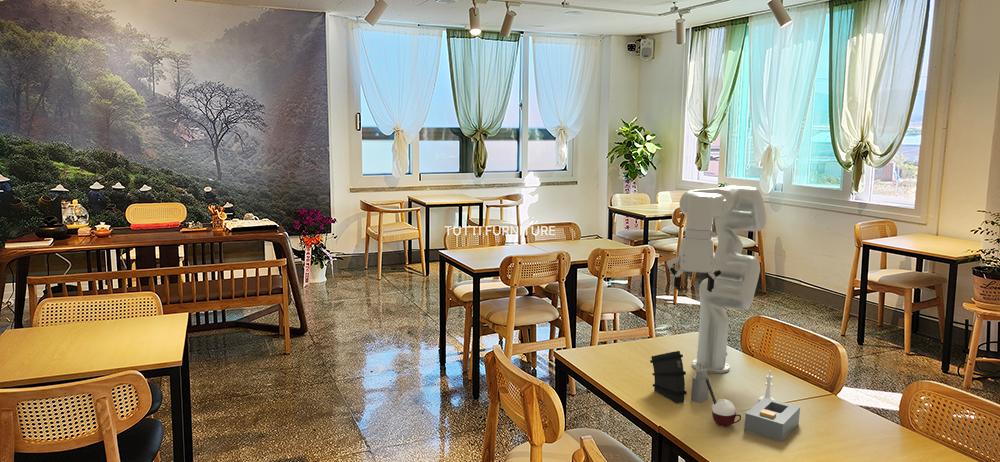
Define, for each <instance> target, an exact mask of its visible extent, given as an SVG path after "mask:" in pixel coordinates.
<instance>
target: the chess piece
mask: <svg viewBox="0 0 1000 462" xmlns="http://www.w3.org/2000/svg"><path fill="white" fill-rule="evenodd" d="M765 378H766V382H765V383H764V385H765V386H766V389H765V393H764V395H762V396H760V397H758V402H759V401H761V400H762V399H763V398H768V399H772V400H775V401H777V400H776V399H774V398H773V397H772V395H771V393H772V392H771V387H772V386H773V383H772V381H773V380H774V376H772V370H770V369H769V371H768V374H767V375H765Z"/></svg>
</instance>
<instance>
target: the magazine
mask: <svg viewBox="0 0 1000 462" xmlns="http://www.w3.org/2000/svg"><path fill="white" fill-rule="evenodd" d="M683 357H684V355H683V354H681V352H680V350H676V351H670V352H665V353H661V354H656V355H652V356H650V358H651V360H649V363H650V364H652V366H653V372H652V376H654V383H653V384H652V387H654V388H653V389H654V391H653V392H655V393H657V394H658V395H661V396H662V397H664V398H666V399H667V400H670V401H672V402H673V403H674V404H682V403H685V395H687V390H685V389H686V387H685V385H686V382H685V380H686V379H685V375H687V372H686V370H684V364H683V359H682V358H683Z"/></svg>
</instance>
